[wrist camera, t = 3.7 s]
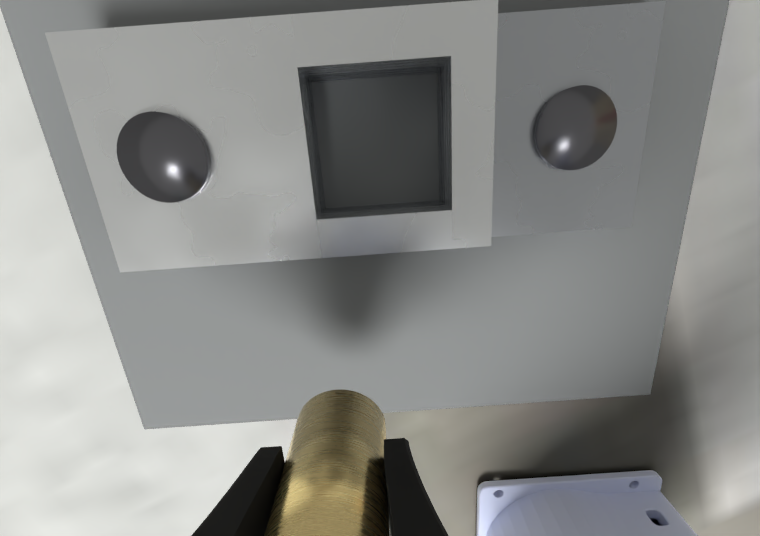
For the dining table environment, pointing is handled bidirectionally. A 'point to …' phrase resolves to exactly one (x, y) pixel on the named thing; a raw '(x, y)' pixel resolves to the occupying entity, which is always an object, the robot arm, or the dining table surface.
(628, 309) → the mat
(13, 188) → the dining table surface
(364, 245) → the latch strike plate
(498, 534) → the robot arm
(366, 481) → the pin
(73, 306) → the dining table surface
